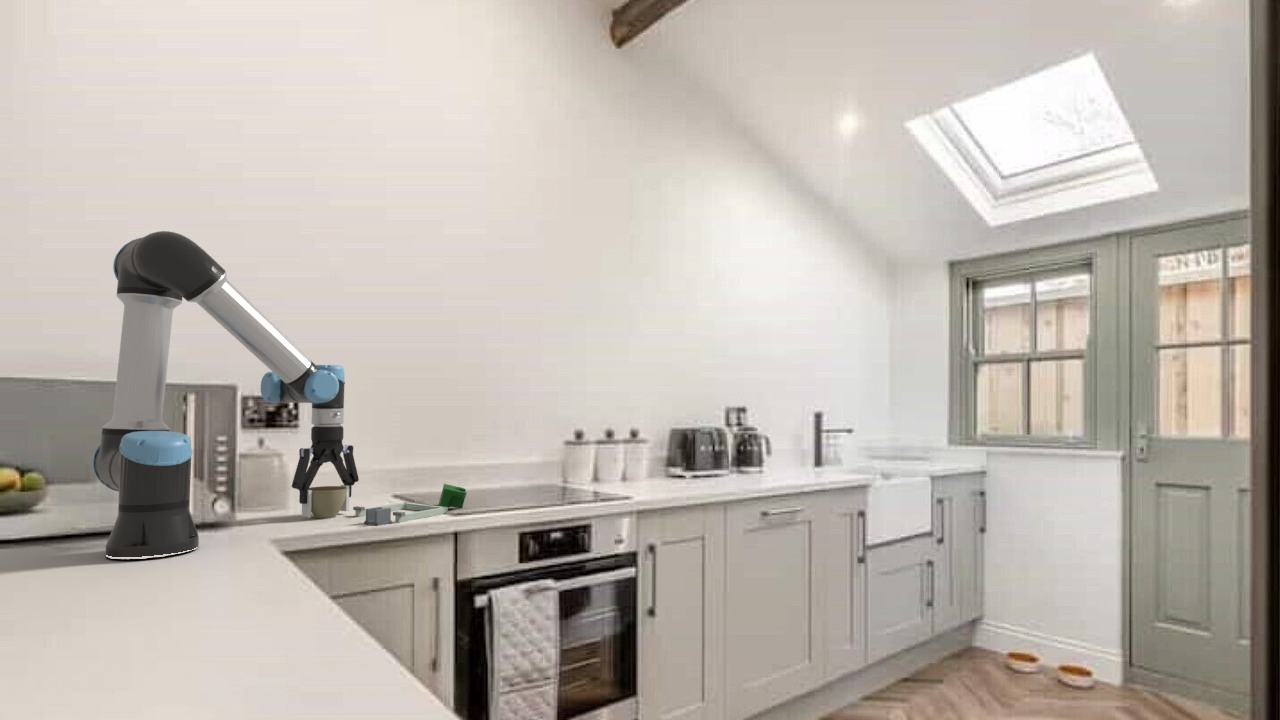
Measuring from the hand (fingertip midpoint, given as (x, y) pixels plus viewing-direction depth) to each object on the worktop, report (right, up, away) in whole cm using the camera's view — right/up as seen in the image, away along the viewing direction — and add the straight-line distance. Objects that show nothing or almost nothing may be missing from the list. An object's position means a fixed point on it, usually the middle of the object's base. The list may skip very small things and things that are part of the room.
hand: (325, 513), depth 181 cm
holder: (+18, -1, +3) cm, 18 cm away
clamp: (+28, -2, +15) cm, 32 cm away
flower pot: (0, -1, 0) cm, 1 cm away
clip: (+17, 0, -9) cm, 19 cm away
